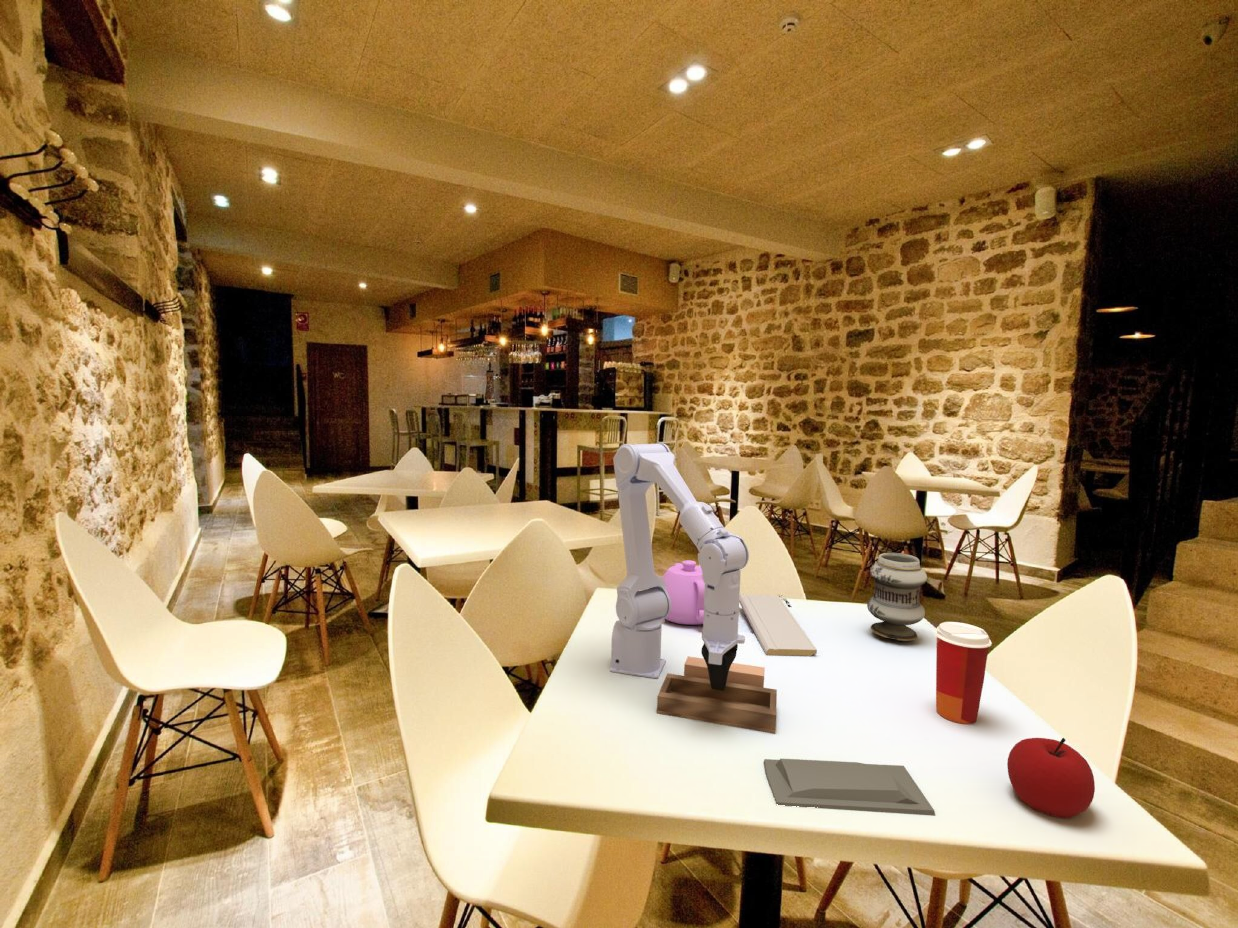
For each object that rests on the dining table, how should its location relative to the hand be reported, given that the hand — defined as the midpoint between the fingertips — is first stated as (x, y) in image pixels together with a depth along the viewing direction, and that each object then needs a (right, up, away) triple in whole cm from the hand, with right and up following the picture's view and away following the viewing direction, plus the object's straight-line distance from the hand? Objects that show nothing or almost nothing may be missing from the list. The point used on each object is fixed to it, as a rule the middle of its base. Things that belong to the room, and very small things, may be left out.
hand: (718, 687), depth 96 cm
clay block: (+2, -4, +8) cm, 9 cm away
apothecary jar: (+47, -2, +37) cm, 60 cm away
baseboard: (+26, 0, +39) cm, 47 cm away
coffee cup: (+41, -5, +1) cm, 41 cm away
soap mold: (+13, -8, -19) cm, 25 cm away
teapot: (+2, 0, +45) cm, 45 cm away
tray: (0, -4, 0) cm, 4 cm away
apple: (+39, -8, -21) cm, 45 cm away
